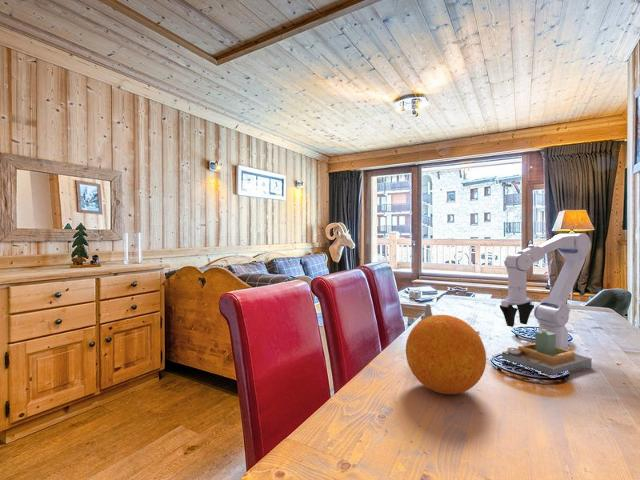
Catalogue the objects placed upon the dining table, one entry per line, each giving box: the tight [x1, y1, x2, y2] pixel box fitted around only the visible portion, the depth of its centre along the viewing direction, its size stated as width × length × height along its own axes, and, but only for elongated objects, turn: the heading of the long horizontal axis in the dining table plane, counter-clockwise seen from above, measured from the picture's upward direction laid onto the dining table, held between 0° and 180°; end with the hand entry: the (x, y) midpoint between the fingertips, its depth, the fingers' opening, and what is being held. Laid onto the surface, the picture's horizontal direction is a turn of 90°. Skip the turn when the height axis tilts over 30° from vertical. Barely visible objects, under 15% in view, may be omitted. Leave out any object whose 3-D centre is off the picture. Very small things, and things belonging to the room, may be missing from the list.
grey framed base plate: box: [501, 342, 593, 375], centre depth 109 cm, size 20×16×5 cm
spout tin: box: [534, 329, 556, 355], centre depth 109 cm, size 4×4×8 cm
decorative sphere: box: [405, 314, 487, 395], centre depth 90 cm, size 20×20×20 cm
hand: (516, 324), depth 122 cm, fingers open, 7 cm apart
